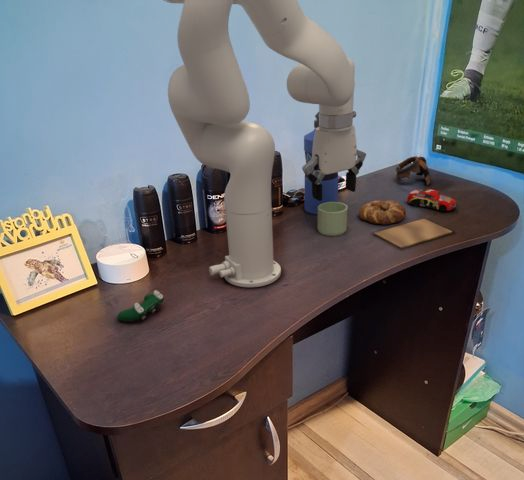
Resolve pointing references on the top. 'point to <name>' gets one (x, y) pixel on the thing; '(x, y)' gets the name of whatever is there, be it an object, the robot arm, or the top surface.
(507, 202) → the top surface
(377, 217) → the seeded bagel
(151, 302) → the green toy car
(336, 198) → the water bottle
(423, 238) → the cork mat
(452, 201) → the race car
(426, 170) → the brown grey arched frame
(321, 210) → the green cup
